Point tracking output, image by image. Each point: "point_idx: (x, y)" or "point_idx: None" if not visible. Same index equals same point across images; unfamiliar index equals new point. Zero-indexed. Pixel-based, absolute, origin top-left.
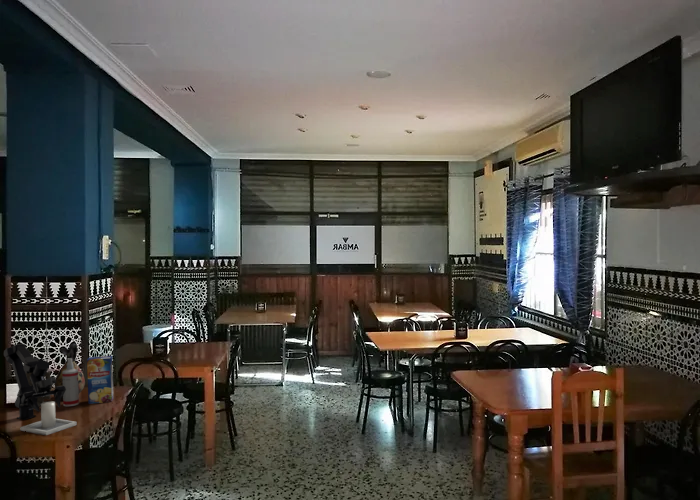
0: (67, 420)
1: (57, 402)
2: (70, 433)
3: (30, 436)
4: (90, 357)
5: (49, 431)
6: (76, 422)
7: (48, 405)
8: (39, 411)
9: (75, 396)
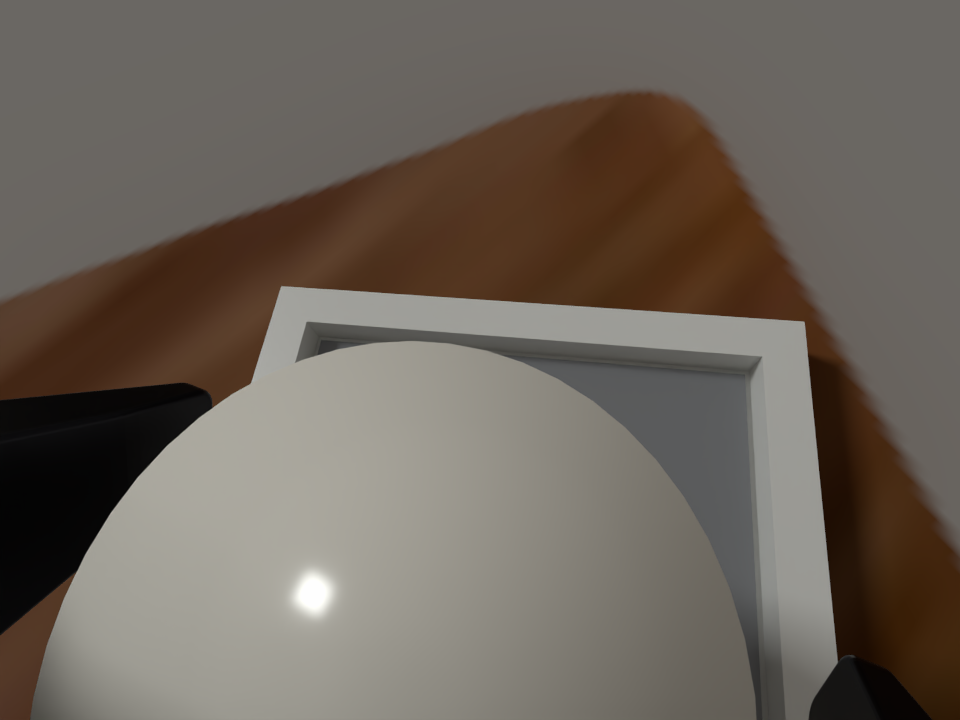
0: None
1: (9, 539)
2: (595, 142)
3: (950, 546)
4: None
5: (741, 322)
6: (285, 291)
7: (587, 414)
8: (825, 683)
9: None
